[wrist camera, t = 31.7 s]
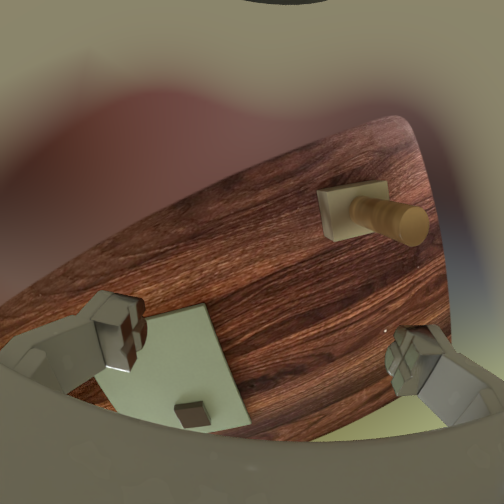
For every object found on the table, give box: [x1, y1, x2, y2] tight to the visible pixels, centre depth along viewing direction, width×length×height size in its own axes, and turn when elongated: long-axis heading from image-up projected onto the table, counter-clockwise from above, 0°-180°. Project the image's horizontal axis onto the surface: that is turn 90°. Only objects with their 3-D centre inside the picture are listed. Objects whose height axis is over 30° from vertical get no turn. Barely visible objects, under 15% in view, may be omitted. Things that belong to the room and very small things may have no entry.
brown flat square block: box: [174, 401, 211, 429], centre depth 34 cm, size 4×4×1 cm
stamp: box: [317, 180, 429, 246], centre depth 25 cm, size 5×7×12 cm
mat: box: [94, 303, 252, 433], centre depth 33 cm, size 20×18×1 cm
